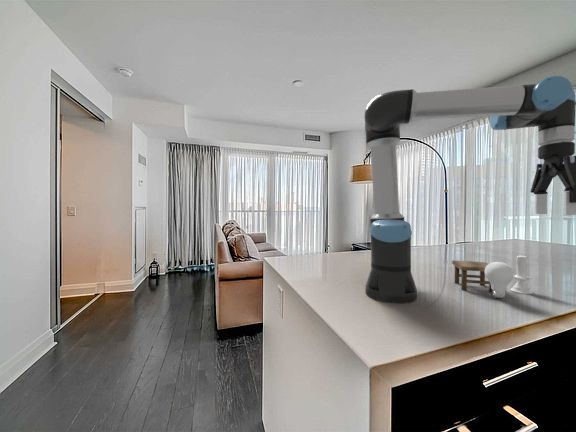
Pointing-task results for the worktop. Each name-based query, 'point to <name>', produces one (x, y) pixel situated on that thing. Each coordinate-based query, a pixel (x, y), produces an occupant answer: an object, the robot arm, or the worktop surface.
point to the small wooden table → (466, 267)
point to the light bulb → (499, 278)
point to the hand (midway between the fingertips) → (554, 214)
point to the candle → (521, 276)
